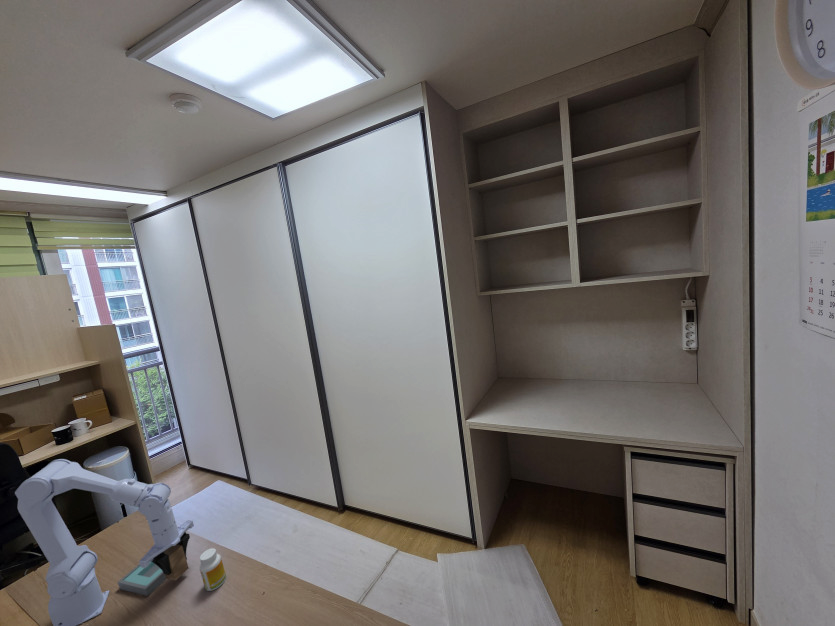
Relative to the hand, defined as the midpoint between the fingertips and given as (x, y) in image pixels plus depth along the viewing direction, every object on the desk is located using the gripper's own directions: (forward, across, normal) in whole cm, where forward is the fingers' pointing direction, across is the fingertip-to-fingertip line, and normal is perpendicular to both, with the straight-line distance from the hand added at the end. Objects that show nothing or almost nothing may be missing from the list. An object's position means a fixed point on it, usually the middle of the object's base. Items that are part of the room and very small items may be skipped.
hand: (175, 566), depth 99 cm
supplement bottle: (+5, +1, -13) cm, 14 cm away
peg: (+2, 0, 0) cm, 2 cm away
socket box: (+4, 0, +10) cm, 11 cm away
